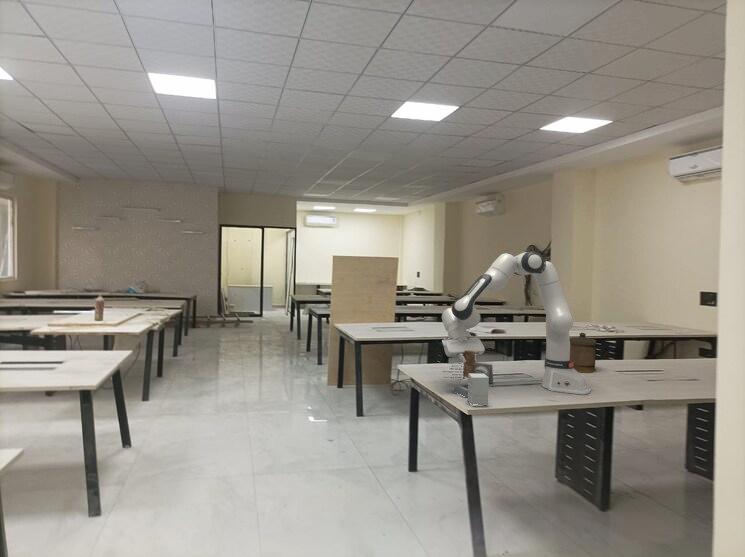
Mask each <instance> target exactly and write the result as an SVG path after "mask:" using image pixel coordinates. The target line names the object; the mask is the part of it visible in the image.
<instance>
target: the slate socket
mask: <svg viewBox="0 0 745 557" xmlns="http://www.w3.org/2000/svg"><path fill="white" fill-rule="evenodd" d="M454 392H456V393H458V394H461V395H463V396H465V397H468V383H461V384H460V383H459V384H453V393H454ZM456 393H455V394H456ZM458 394H457V395H458ZM463 396H462V397H463ZM465 397H464V398H465Z"/></svg>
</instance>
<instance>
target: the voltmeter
mask: <svg viewBox="0 0 745 557" xmlns="http://www.w3.org/2000/svg"><path fill="white" fill-rule="evenodd" d="M445 364H450V365H451V364H452V365H451V368H450V367H449V370H459V371H448V370H446V371H444V370H443V371H442V373H451V374H452V376H448V379H449V378H451V379H457V381H462V380H465V379H466V377H464V363H463V362H462V363H460V362H445ZM453 364H458V365H462V364H463V366H462V367H463V368H457V365H453ZM453 367H455V368H453ZM493 368H494V367H493V364H492V363H486V362H485V363H484V362H476V363H475V374H485V375H486V376H488V377H489V384H493V383H494V370H493ZM462 370H463V371H462ZM456 373H458V374H456ZM456 376H457V377H456ZM458 376H459V377H458ZM461 376H463V377H461ZM444 378H445V379H446V378H447V376H444Z"/></svg>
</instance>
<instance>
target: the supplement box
mask: <svg viewBox="0 0 745 557" xmlns="http://www.w3.org/2000/svg"><path fill="white" fill-rule="evenodd" d="M467 384H468V398H467V402H468V401H469V402H470V403H471V404H472V405H473V404H478V405H488V406H489V388H490V387H489V386H490V385H489V384H490V383H489V377H488V376H486V375H485V374H474V373H468V378H467ZM469 402H468V403H469Z"/></svg>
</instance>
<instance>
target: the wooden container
mask: <svg viewBox="0 0 745 557" xmlns="http://www.w3.org/2000/svg"><path fill="white" fill-rule="evenodd" d="M586 335H587V334H586V333H585V332H580V333H579V336H578V337H569V339H570V360H571V361H572V362H574V369H575V370H576V371H577V372H578V373H580V374H581V373H583V374H590V373H591V374H593V373H595V372H596V346H597V340H596V339H593V338H587V337H586Z"/></svg>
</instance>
